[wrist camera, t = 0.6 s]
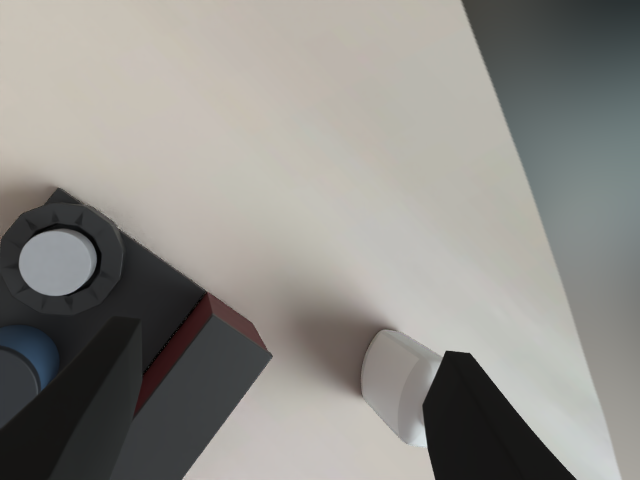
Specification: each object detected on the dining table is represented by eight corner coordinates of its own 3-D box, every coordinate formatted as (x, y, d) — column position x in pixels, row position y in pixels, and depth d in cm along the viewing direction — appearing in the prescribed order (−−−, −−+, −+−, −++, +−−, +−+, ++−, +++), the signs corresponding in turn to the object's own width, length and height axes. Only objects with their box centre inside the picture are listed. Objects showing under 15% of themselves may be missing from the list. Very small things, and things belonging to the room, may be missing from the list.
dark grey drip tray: (-97, 371, 30) (-123, 387, 27) (59, 182, 31) (48, 180, 29) (71, 464, 33) (62, 486, 30) (207, 287, 34) (209, 293, 32)
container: (27, 417, 31) (-4, 461, 26) (-49, 374, 30) (-99, 411, 25) (79, 351, 32) (59, 381, 26) (6, 306, 31) (-30, 328, 25)
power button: (15, 266, 29) (3, 270, 27) (56, 216, 29) (47, 217, 27) (71, 301, 30) (63, 308, 28) (109, 253, 30) (104, 256, 28)
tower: (56, 457, 32) (19, 531, 25) (192, 280, 34) (195, 302, 27) (125, 495, 34) (110, 577, 26) (254, 323, 35) (273, 356, 28)
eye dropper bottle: (337, 376, 37) (408, 456, 26) (387, 318, 38) (477, 371, 26) (377, 411, 38) (462, 503, 27) (425, 354, 39) (528, 420, 27)
